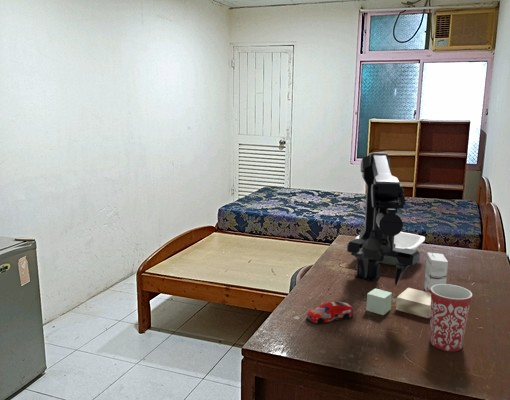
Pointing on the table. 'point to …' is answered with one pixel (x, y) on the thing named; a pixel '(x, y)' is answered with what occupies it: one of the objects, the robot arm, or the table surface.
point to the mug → (448, 316)
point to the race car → (330, 312)
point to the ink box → (435, 270)
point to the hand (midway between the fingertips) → (380, 281)
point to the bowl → (403, 245)
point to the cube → (379, 301)
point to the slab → (415, 302)
